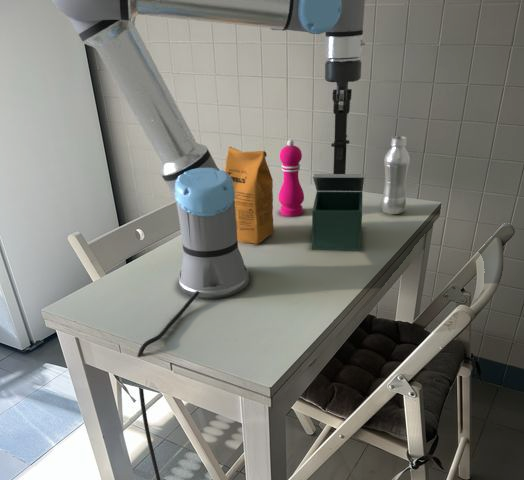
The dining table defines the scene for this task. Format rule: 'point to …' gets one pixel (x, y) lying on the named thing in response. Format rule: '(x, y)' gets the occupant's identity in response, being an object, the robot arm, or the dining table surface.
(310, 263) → the dining table surface
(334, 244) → the tin
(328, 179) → the lid
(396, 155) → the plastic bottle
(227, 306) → the dining table surface
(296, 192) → the pepper mill
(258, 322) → the dining table surface
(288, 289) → the dining table surface
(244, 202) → the coffee package
